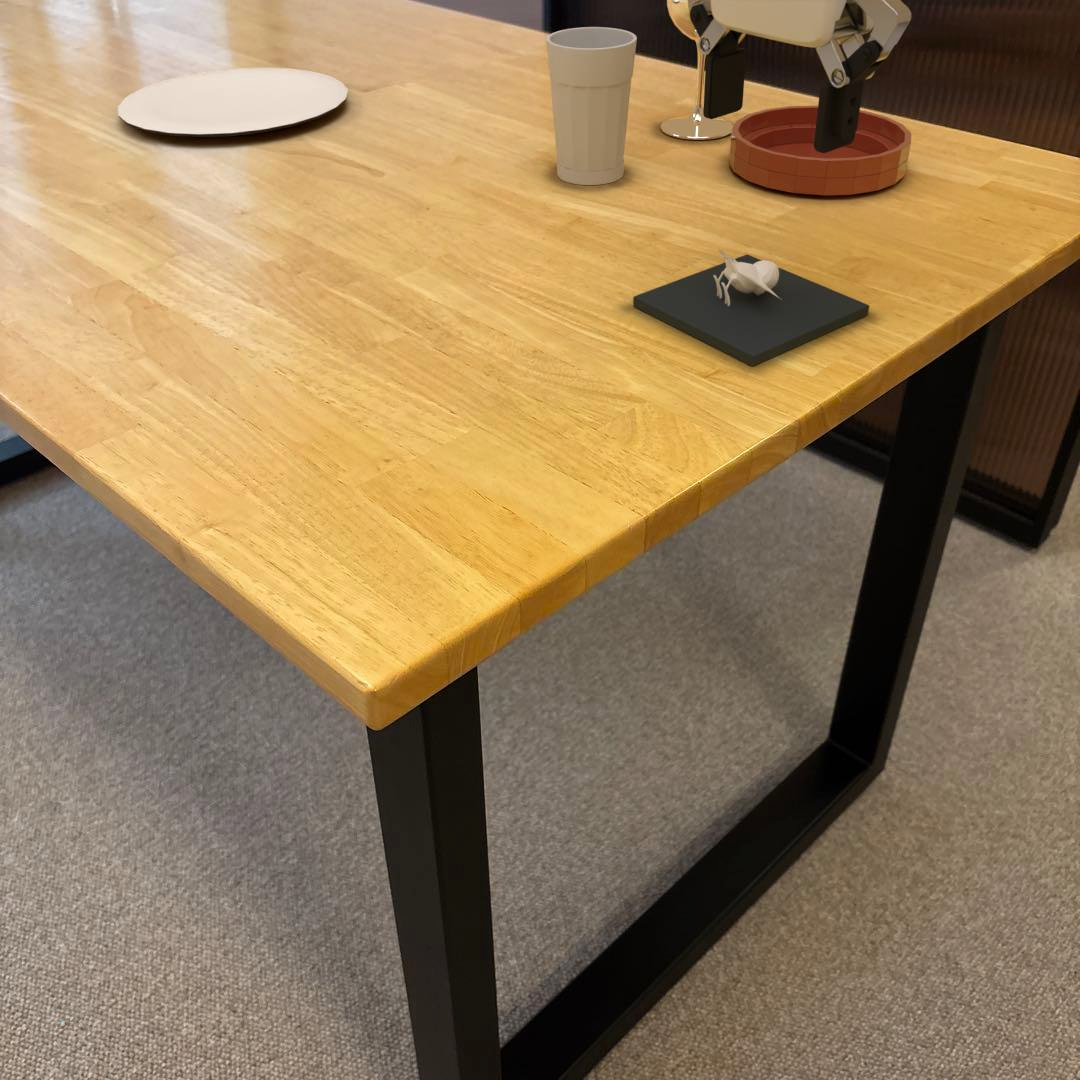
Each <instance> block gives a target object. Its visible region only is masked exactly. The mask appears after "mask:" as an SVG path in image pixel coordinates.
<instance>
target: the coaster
mask: <svg viewBox="0 0 1080 1080" xmlns="http://www.w3.org/2000/svg"><path fill="white" fill-rule="evenodd" d="M734 259H735V260H736V261H737V262H744V263H749V264H752V265H753V264H754V263H756V262H758V261H762V260H763V259H760V258H757V257H754V256H752V255H750V254H748V253H747V254H744V255H741V256H738V257H736V258H734ZM725 268H726V263H725V262H722V263H720V264H717V265H714V266H711V267H709V268H706V269H704V270H701V271H699V272H695V273H693V274H690V275H688V276H685V277H683V278H680V279H677V280H675V281H671V282H668V283H666V284H664V285H661V286H658V287H656V288H653V289H650V290H647V291H645V292H642V293H640V294H636V295H634V296H633V297H632V298H633V299H632V300H633V301H632V306H633V307H634V308H636V309H638V310H640V311H641V312H644V313H646V314H648V315H649V316H652V317H654V318H655V319H658V320H660V321H661V322H663V323H666V324H667V325H670V326H672V327H674V328H675V329H677V330H679V331H682V332H683V333H685V334H687V335H689V336H691V337H693V338H695V339H697V340H699V341H701V342H703V343H705V344H707V345H709V346H712V347H713V348H715V349H717V350H719V351H720V352H723V353H725V354H727V355H729V356H731V357H733V358H735V359H736V360H739V361H740V362H743V363H744V364H747V365H749V366H751V367H755V366H757V365H759V364H761V363H764V362H766V361H768V360H770V359H772V358H775V357H777V356H779V355H781V354H784V353H786V352H788V351H790V350H793V349H795V348H797V347H799V346H802V345H804V344H806V343H808V342H810V341H813V340H816V339H817V338H820V337H822V336H824V335H826V334H828V333H831V332H834V331H835V330H838V329H839V328H842V327H844V326H847V325H849V324H851V323H853V322H856V321H858V320H860V319H862V318H864V317H867V316H868V315H869V310H870V305H869V304H867V303H865V302H863V301H860V300H858V299H856V298H853V297H850V296H848V295H846V294H843V293H841V292H839V291H836V290H834V289H832V288H830V287H826V286H824V285H822V284H819V283H818V282H815V281H813V280H811V279H808V278H805V277H803V276H800V275H798V274H795V273H793V272H791V271H788V270H786V269H783V268H781V267H779V266H778V269H779V279H778V282H777V284H776V285H775V286H774V287H773V288H772V289H770V290H772V291H773V292H774V293H775V294H776V295H777V296H778V297H779V298H778V297H777V296H775V295H773V294H772V293H770V292H769V291H766V292H764V293H762V294H760V295H759V296H758V295H756V294H755V293H754V292H752V293H743V292H741V291H738V290H736V289H735V288H734V287H733V286H732V284H730V285H729V287H728V290H727V292H728V295H729V298H730V305H729V306H728V304H727V303H726V304H725V293H724V288H723V286H722V283H724V284H725V286H727V284H728V283H729V280H728V279H727V277H726V276H725V275H724V274H723V276H722V278H721V280H720V282H719V284H720V287H721V290H722V298H721V299H720V297H719V296H718V297H717V285H716V281H715V278H714V276H713V275H716V277H717V279H719V277H720V275H721V273H722V271H724V269H725ZM721 282H722V283H721ZM781 299H782V300H781Z"/></svg>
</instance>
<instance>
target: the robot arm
mask: <svg viewBox="0 0 1080 1080" xmlns="http://www.w3.org/2000/svg"><path fill="white" fill-rule="evenodd" d="M688 3H689V6H691V10H690V19H691V22H692V24H693V25H694V27H695V29H696V31H697V33H698V35H699V37H700V39H699V49H700V51H701V53H702V54H704V55H706V60H705V70H704V87H703V115H704V117H706V118H709V119H714V118H722V117H724V116H727V115H730V114H733V113H737V112H738V111H741V110H742V109H743V103H744V90H745V77H746V61H747V53H746V51H747V50H746V48H744V47H739V45H740V43H741V42H742V41H743V40H744V38H745V37H746V35H750V36H755V37H759V38H763V39H766V40H767V39H768V40H770V41H776V42H780V43H786V44H790V45H794V46H800V47H804V48H815V51H816V53H817V56H818V57H819V59H820V62H821V64H822V66H823V68H824V71H825V73H826V75H827V77H828V81H829V82H830V83H826V84H823V85H821V88H820V90H819V96H818V102H817V103H818V104H817V106H818V112H817V121H816V129H815V138H814V148H815V150H816V151H817V152H821V153H827V152H829V151H832V150H835V149H838V148H841V147H844V146H846V145H849V144H851V143H852V142H853V141H854V138H855V132H856V130H857V126H858V120H859V112H860V110H861V105H862V104H861V103H862V97H863V90H864V89H863V88H864V82H865V81H866V80H870V79H871V78H872V77H873V76H874V75H875V73H876V70H877V69H879V67H881V66H882V65H883V64H884V63H885V62H886V61H888V60H889V59H890V58H891V56H892V55H893V53H894V50H895V46H896V45H897V44H898V42H899V41H900V39H901V37H902V35H903V34H904V33H905V31H906V29H907V27H908V26H909V24H910V22H911V20H912V11H911V10H910V8H909V7H908V6H907V5H906V4H905V3H904V2H903V1H902V0H688ZM869 32H870V33H869ZM868 33H869V37H868V39H867V41H865V39H864V37H863V35H865V34H868ZM840 45H841V46H840ZM841 48H842V49H841ZM843 52H844V54H845V56H844V54H843ZM845 57H846V58H845Z"/></svg>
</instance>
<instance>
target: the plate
mask: <svg viewBox="0 0 1080 1080" xmlns="http://www.w3.org/2000/svg"><path fill="white" fill-rule="evenodd" d="M348 95H349V89H348V88H347V86H346V85H345V83H344V82H342V81H341V80H338V79H337V78H334V77H333V76H330V75H328V74H325V73H321V72H317V71H312V70H306V69H299V68H289V67H267V66H265V67H264V66H263V67H237V68H228V69H227V68H226V69H216V70H208V71H202V72H196V73H190V74H186V75H185V74H184V75H180V76H177V77H173V78H168V79H165V80H160V81H158V82H155V83H151V84H150V85H147V86H144V87H142V88H139V89H137V90H135V91H134V92H132V93H130V94H129V95H127V96H125V98H124V99H123V100H122V101H121V102H120V104H119V105H118V106H117V115H118V118H119V119H121V120H122V121H123V122H124V123H125V124H126V125H128V126H129V127H132V128H135V129H138V130H141V131H144V132H147V133H152V134H153V133H154V134H158V135H165V136H171V137H172V136H173V137H192V138H194V137H195V138H217V137H219V138H220V137H237V136H246V135H255V134H261V133H266V132H271V131H276V130H281V129H286V128H290V127H295V126H298V125H302V124H305V123H308V122H311V121H315V120H318V119H320V118H322V117H324V116H326V115H328V114H330V113H332V112H334V111H336V110H337V109H338V108H339V107H341V105H342V104H343V105H344V103H345V102H346V101H347V99H348Z"/></svg>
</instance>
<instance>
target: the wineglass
mask: <svg viewBox="0 0 1080 1080" xmlns="http://www.w3.org/2000/svg"><path fill="white" fill-rule="evenodd" d="M665 4H666V9H667V12H668V16H669V18H670V20H671V21H672V23H673V25H674V26H675V27H676V28H677V29H678V30H679V31H680V33H682V34H683V35H685V36H686V37H687V38H688V39H690V40H693V41H695V43H696V49H697V50H696V51H697V72H696V88H695V103H694V106H693V110H692V112H691V113H690V114H689V115H688V114H687V115H679V116H673V117H671V118H668V119H666V120H664V121H663V122H662V123H661V125H660V130H661V131H662V133H664V134H665V135H667V136H670V137H673V138H676V139H681V140H688V141H708V140H709V141H710V140H717V139H721V138H725V137H727V136H729V135H731V132H732V128H733V126H734V124H732V122H730V121H729V120H727V119H724V118H722V117H718V118H714V119H709V118H706V117H704V115H703V108H704V105H703V99H704V85H705V69H706V56H707V55H704V54H702V53H701V51H700V49H699V39H700V37H699V35H698V33H697V31H696V29H695V27H694V25H693V24H692V22H691V19H690V10H691V6H689V3H688V0H665Z"/></svg>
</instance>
